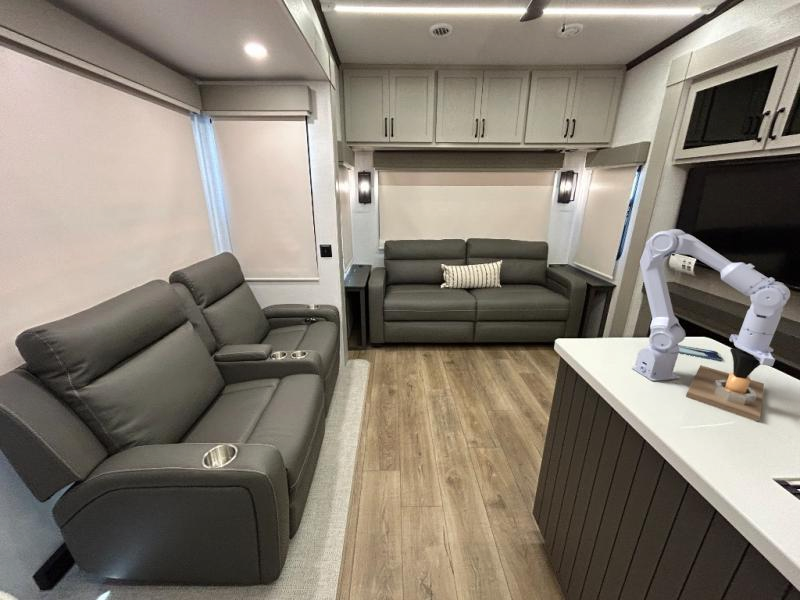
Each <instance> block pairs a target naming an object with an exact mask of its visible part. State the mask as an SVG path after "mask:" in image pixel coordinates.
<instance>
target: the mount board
mask: <svg viewBox="0 0 800 600" xmlns="http://www.w3.org/2000/svg"><path fill="white" fill-rule="evenodd" d="M729 375H730V373H728V372H725V371H721V370H718V369H716V368H711V367H708V366H705V365H702V364H701V365H699V367H698V370H697V372H696V374H695V375H694V378H693V380H692V381H691V384H690V385H689V388H688V390H687V392H686V395H685V397H686V398H688V399H691V400H695V401H697V402H700V403H703V404H707V405H708V406H711V407H714V408H718V409H720V410H723V411H725V412H728V413H731V414H734V415H736V416H740V417H742V418H745V419H748V420H750V421H755V422H757V423H758V422H759V420H760V417H761V410H762V404H763V397H764V396H763V395H764V387H765V383H763V382H760V381H756V380H752V379H751V381H750V383H749V386H748V387H749V388H751V389H753V390H754V391H755V393H756V395H757V396H756V399H755V401H754V404H747V405H742V404H738V403H734V402H730V401H727V400H725V399H723V398H721V397H720V396H718V395H716V394H714V391H713V386H714V383H715V381H717V380H728V377H729Z"/></svg>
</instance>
